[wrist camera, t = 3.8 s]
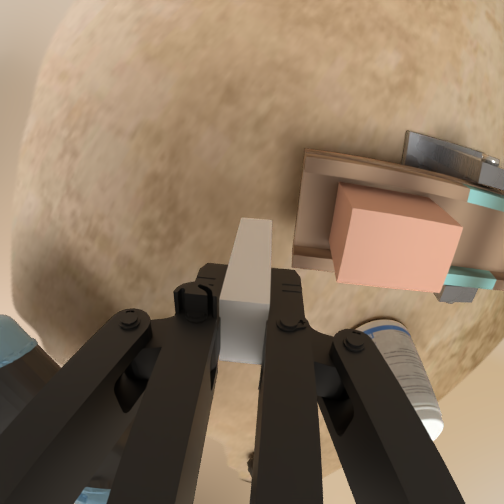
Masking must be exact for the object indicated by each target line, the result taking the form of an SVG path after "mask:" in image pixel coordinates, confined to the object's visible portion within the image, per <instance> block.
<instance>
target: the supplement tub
mask: <svg viewBox="0 0 504 504" xmlns="http://www.w3.org/2000/svg"><path fill="white" fill-rule="evenodd" d="M355 330H359V331H362V332H364V333H365V334H367V335H368V336H369V337H370V338H371V339H372V340H373V342H374V343H375V345H376V346H377V348H378V349H379V351H380V353H381V354H382V356H383V357H384V359H385V361H386V362H387V364H388V366H389V367H390V369H391V370H392V372H393V374H394V375H395V377H396V379H397V380H398V382H399V384H400V385H401V387H402V389H403V390H404V392H405V394H406V395H407V397H408V399H409V400H410V402H411V404H412V406H413V407H414V409H415V411H416V412H417V414H418V416H419V418H420V419H421V421H422V423H423V425H424V426H425V428H426V430H427V432H428V433H429V435H430V437H431V439H432V441H434V440H435V439H436V438H437V437H438V436H439V435H440V433H441V432H442V430H443V427H444V424H443V420H442V417H441V416H442V414H441V411H440V408H439V405H438V402H437V399H436V397H435V394H434V391H433V389H432V386H431V384H430V381H429V379H428V376H427V374H426V371H425V369H424V366H423V364H422V361H421V359H420V357H419V354H418V352H417V350H416V347H415V345H414V343H413V340H412V338H411V336H410V334H409V332H408V330H407V329H406V327H405V326H404V325H402V324H401V323H399V322H397V321H394V320H386V319H384V320H375V321H371V322H368V323H366V324H363V325H361V326H360V327H358V328H356V329H355Z"/></svg>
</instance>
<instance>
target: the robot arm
mask: <svg viewBox="0 0 504 504" xmlns="http://www.w3.org/2000/svg"><path fill="white" fill-rule="evenodd" d="M271 253H272V220H267V219H256V218H244V217H241V220H240V224H239V227H238V231H237V235H236V238H235V242H234V246H233V249H232V253H231V257H230V260H229V264H228V265H224V264H214V263H207V264H206V265H204V266H203V267H202V268H200V270H199V272H198V275H197V278H196V280H195V282H189V283H185V284H182V285H180V286H178V287H177V288H176V289H175V290H174V302H175V312H176V313H175V316H173V317H170V318H166V319H157V320H150V317H149V316H148V314H147V313H146V312H144V311H142V310H139V309H125V310H123V311H120V312H118V313H117V314H115V315H114V316H113V317H112V318H111V319H110V320H109V321H108V322H107V323H106V324H105V325H103V326H102V327H101V328H100V329H99V330H98V331H97V332H96V333H95V334H94V335H93V336H92V337H91V338H90V339H89V340H88V341H87V342H86V343H85V344H84V345H83V346H82V347H81V348H80V349H79V350H78V351H77V353H76V354H75V355H74V356H73V357H72V358H71V359H70V360H69V361H68V362H67V363H66V364H65V365H64V366H63V367H62V368H61V367H60V366H59V365H58V364H57V363H56V362H55V361H54V360H53V359H52V358H51V357H50V356H49V355H48V354H47V353H46V352H45V351H44V350H43V349H42V348H41V347H40V346H39V345H38V343H37V341H36V340H35V339H34V338H31V337H30V336H29V335H28V334H27V333H26V332H25V331H24V330H23V329H22V328H21V327H20V326H19V325H18V324H17V322H16V321H15V320H13V319H12V318H11V317H9V316H7V315H0V504H74V503H75V504H193V501H194V496H195V490H196V485H197V479H198V474H199V468H200V463H201V458H202V452H203V447H204V441H205V436H206V431H207V425H208V420H209V415H210V410H211V404H212V399H213V394H214V389H215V383H216V378H217V373H218V358H219V360H221V361H229V362H239V363H249V364H260V365H261V373H260V381H259V388H258V389H259V398H258V411H257V424H256V436H255V449H254V460H253V472H252V484H251V495H250V504H323V487H322V465H321V447H320V432H319V418H318V405H319V407H320V410H321V412H322V415H323V418H324V420H325V423H326V425H327V428H328V431H329V433H330V436H331V439H332V441H333V444H334V446H335V449H336V452H337V454H338V457H339V460H340V462H341V465H342V468H343V470H344V473H345V476H346V478H347V481H348V483H349V486H350V489H351V491H352V494H353V497H354V499H355V502H356V504H465V502H464V500H463V498H462V496H461V494H460V492H459V490H458V488H457V486H456V484H455V482H454V480H453V478H452V476H451V474H450V473H449V470H448V468H447V467H446V465H445V463H444V461H443V459H442V457H441V455H440V453H439V452H438V450H437V448H436V446H435V444H434V443H433V441H432V439H431V437H430V435H429V433H428V432H427V430H426V428H425V426H424V425H423V423H422V421H421V419H420V418H419V416H418V414H417V412H416V411H415V409H414V407H413V406H412V404H411V402H410V400H409V399H408V397H407V395H406V394H405V392H404V390H403V389H402V387H401V385H400V384H399V382H398V380H397V379H396V377H395V375H394V374H393V372H392V370H391V369H390V367H389V366H388V364H387V362H386V361H385V359H384V357H383V356H382V354H381V353H380V351H379V349H378V348H377V346H376V345H375V343H374V342H373V340H372V339H371V338H370V337H369V336H368V335H367V334H365V333H364V332H362V331H359V330H355V329H344V330H341V331H339V332H338V333H336V334H335V336H334V337H332V336H329V335H325V334H322V333H320V332H317V331H316V330H314V329H312V328H311V327H310V325H309V323H308V320H307V319H306V318H305V315H304V305H303V296H302V287H301V279H300V276H299V275H298V274H297V273H296V271H295V270H289V269H278V268H271ZM317 402H318V405H317Z"/></svg>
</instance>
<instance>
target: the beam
mask: <svg viewBox="0 0 504 504" xmlns="http://www.w3.org/2000/svg"><path fill="white" fill-rule="evenodd" d="M339 182H344V183H351V184H357V185H363V186H369V187H375V188H381V189H387V190H392V191H398V192H403V193H408V194H413V195H418V196H423V197H428V198H430V199H431V200H433V201H434V202H435V203H436V204H437V205H439V206H440V207H441V208H442V209H443V210H444V211H446V212H447V213H448V214H449V215H450V216H451V217H452V218H453V219H455V220H456V221H457V222H458V223H459V224H460V225H461V226H462V227H463V230H462V233H461V236H460V239H459V243H458V246H457V249H456V251H455V254H454V257H453V260H452V263H451V266H450V268H449V271H448V274H447V276H446V279H445V281H444V284H443V285H453V286H462V287H472V288H482V289H492V290H502V291H504V192H502V191H499V190H496V189H493V188H490V187H487V186H483V185H480V184H477V183H473V182H470V181H466V180H463V179H459V178H455V177H452V176H448V175H444V174H440V173H436V172H432V171H428V170H423V169H419V168H415V167H410V166H406V165H401V164H396V163H391V162H386V161H381V160H376V159H370V158H365V157H359V156H353V155H347V154H341V153H334V152H328V151H320V150H313V149H305V150H304V160H303V169H302V177H301V186H300V194H299V202H298V210H297V218H296V226H295V233H294V240H293V248H292V267H293V268H301V269H310V270H318V271H327V272H335V270H334V265H333V260H332V255H331V250H330V245H329V237H330V232H331V227H332V221H333V215H334V209H335V203H336V197H337V191H338V185H339Z"/></svg>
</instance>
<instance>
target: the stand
mask: <svg viewBox="0 0 504 504" xmlns="http://www.w3.org/2000/svg"><path fill="white" fill-rule="evenodd" d="M499 161H500V160H499V159H497V158H494V157H492V156H489V155H486V154H484V153H481V152H478V151H475V150H472V149H469V148H466V147H463V146H460V145H456V144H453V143H450V142H447V141H443V140H440V139H436V138H433V137H429V136H425V135H421V134H418V133H414V132H410V131H406V138H405V145H404V151H403V157H402V163H401V165H406V166H410V167H415V168H419V169H423V170H428V171H432V172H436V173H440V174H444V175H448V176H452V177H455V178H459V179H463V180H466V181H470V182H473V183H477V184H480V185H483V184H484V185H488V186H491V187H495V188H498V189H501V190H504V168H502V167H499ZM477 290H478V288H472V287H462V286H453V285H443V287H442V289H441V291H440V293H435V292H433V293H434V295H435V296H436V298H437V299H438V301H439V302H446V303H450V304H453V303H454V302H472V301H473V299H474V297H475V294H476V292H477Z"/></svg>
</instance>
